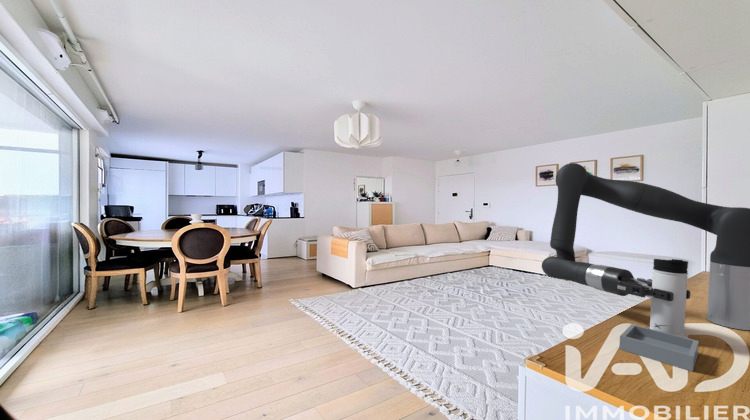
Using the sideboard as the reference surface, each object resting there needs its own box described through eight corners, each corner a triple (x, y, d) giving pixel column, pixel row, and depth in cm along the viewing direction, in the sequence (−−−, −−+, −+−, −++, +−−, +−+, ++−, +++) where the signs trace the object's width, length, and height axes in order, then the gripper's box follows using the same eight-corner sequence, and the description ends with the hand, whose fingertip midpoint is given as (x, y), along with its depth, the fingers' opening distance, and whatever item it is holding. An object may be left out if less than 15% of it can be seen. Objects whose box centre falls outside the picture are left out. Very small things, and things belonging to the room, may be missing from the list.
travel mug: (657, 339, 75) (662, 258, 74) (644, 329, 81) (648, 254, 81) (690, 344, 73) (695, 261, 72) (674, 333, 79) (679, 256, 78)
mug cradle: (631, 335, 77) (631, 324, 77) (698, 354, 68) (698, 341, 68) (619, 348, 69) (620, 335, 69) (692, 371, 61) (693, 356, 60)
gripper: (592, 267, 88) (663, 282, 72) (625, 265, 93) (699, 279, 77) (591, 293, 88) (662, 314, 72) (624, 290, 93) (697, 308, 77)
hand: (680, 296), depth 75 cm, fingers closed on travel mug, 6 cm apart
